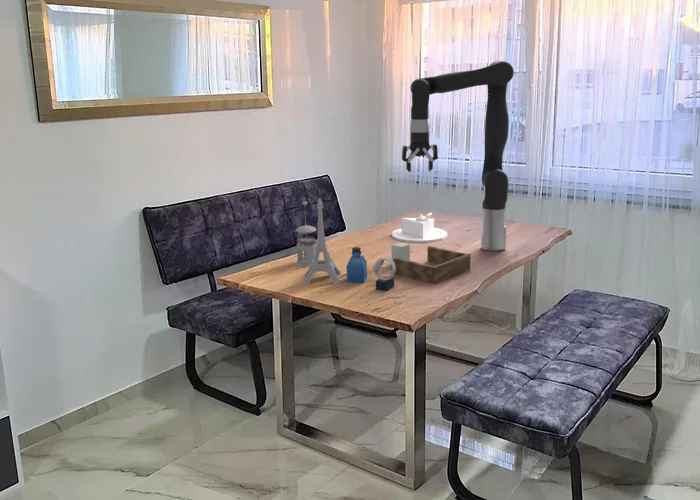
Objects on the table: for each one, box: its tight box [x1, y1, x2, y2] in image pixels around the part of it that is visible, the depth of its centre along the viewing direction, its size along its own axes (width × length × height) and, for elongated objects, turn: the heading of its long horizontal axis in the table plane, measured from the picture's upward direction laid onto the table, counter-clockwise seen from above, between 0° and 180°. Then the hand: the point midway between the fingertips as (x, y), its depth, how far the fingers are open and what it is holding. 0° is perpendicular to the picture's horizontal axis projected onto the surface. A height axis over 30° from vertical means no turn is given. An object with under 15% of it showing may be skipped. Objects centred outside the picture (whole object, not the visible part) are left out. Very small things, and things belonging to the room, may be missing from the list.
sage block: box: [391, 241, 411, 261], centre depth 262 cm, size 5×5×8 cm
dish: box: [391, 212, 448, 244], centre depth 303 cm, size 25×25×11 cm
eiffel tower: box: [302, 198, 342, 285], centre depth 245 cm, size 13×13×30 cm
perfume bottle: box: [346, 246, 368, 284], centre depth 244 cm, size 6×6×12 cm
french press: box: [294, 200, 317, 268], centre depth 265 cm, size 10×12×25 cm
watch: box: [372, 256, 396, 292], centre depth 235 cm, size 6×8×11 cm
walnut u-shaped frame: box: [394, 245, 471, 285], centre depth 252 cm, size 19×22×6 cm
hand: (419, 171), depth 273 cm, fingers open, 8 cm apart
